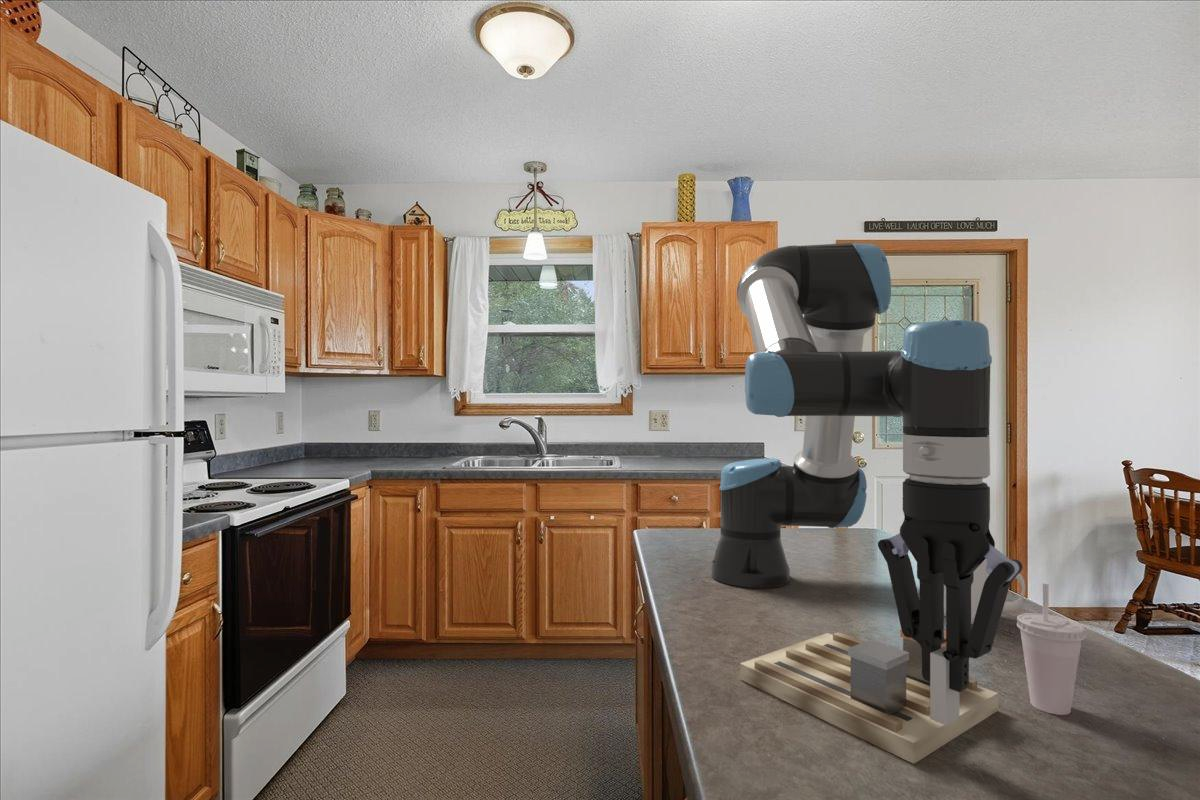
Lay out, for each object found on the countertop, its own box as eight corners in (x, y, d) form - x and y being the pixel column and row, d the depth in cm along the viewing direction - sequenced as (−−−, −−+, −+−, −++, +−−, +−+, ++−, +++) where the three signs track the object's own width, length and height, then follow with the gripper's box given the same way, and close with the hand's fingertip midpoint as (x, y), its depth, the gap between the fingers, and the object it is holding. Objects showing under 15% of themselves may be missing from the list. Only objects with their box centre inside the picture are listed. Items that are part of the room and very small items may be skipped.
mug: (1033, 632, 93) (1033, 561, 93) (944, 622, 98) (944, 554, 98) (1017, 614, 102) (1017, 549, 102) (935, 605, 106) (935, 543, 106)
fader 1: (847, 701, 67) (847, 648, 67) (870, 690, 69) (870, 639, 69) (886, 718, 63) (886, 662, 63) (909, 706, 66) (909, 652, 66)
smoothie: (1003, 694, 73) (1003, 576, 73) (1053, 692, 74) (1053, 575, 74) (1046, 722, 67) (1046, 593, 67) (1101, 720, 68) (1101, 592, 68)
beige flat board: (739, 679, 77) (739, 656, 77) (827, 647, 88) (827, 627, 88) (913, 763, 59) (913, 734, 59) (997, 710, 69) (997, 685, 69)
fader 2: (900, 679, 72) (900, 630, 72) (919, 670, 75) (919, 622, 75) (938, 694, 69) (938, 641, 69) (957, 683, 71) (958, 633, 71)
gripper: (862, 474, 64) (861, 702, 64) (1001, 489, 53) (1001, 762, 53) (901, 470, 68) (900, 683, 68) (1036, 483, 58) (1036, 735, 57)
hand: (944, 718), depth 61 cm, fingers closed
